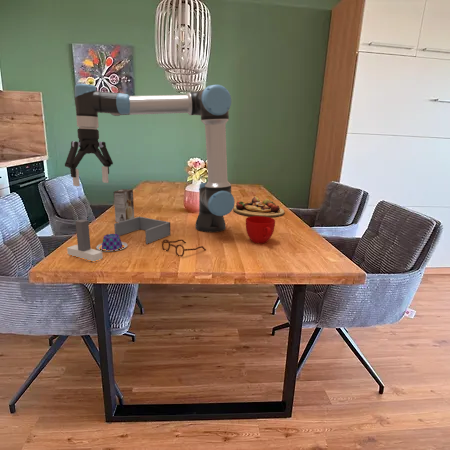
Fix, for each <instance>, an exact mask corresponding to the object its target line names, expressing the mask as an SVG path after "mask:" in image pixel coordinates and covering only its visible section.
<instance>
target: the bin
mask: <svg viewBox="0 0 450 450" xmlns="http://www.w3.org/2000/svg"><path fill="white" fill-rule="evenodd" d="M113 224H114V234H117V235H119V237H121V236H124V235H126V234H129V233H132V232H135V231H138V230H143V231H145V244H146V245H148V243H149V244H152V243H154V242H156V241H159V240H161V239H164V238H166V237H169V236H171V222H170V221H164V220H159V219H153V218H149V217H144V216H136V217H134V218H132V219H129V220H125V221H122V222H115V223H113ZM158 239H159V240H158ZM153 241H154V242H153Z"/></svg>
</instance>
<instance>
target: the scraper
mask: <svg viewBox="0 0 450 450" xmlns="http://www.w3.org/2000/svg"><path fill="white" fill-rule="evenodd" d="M75 231H76V240H77V244H73V245H71V246H69V247H66V252H67V255H68V254H69V255H68V256H70V255H72V256H71V257H73V256H76V257H80V258H84V259H87V260H91V261H96V260H99V259H102V258H103V257H104V255H103V251H101V250H98V249H93V248H92V247H91V239H90V225H89V220H87V219H78V220H75ZM76 257H75V258H76ZM80 258H79V259H80ZM103 259H104V258H103ZM103 259H102V260H103ZM87 260H86V261H87ZM99 261H100V260H99Z"/></svg>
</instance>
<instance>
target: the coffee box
mask: <svg viewBox="0 0 450 450" xmlns="http://www.w3.org/2000/svg"><path fill="white" fill-rule="evenodd" d="M113 203H114V204H113V205H114V216H115V217H114V219H115V223H118V222H122V221H125V220H129V219H132V218H135V206H134V204H135V201H134V189H127V188H126V189H125V188H121V189H118V190H115V191H113Z"/></svg>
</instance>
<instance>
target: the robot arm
mask: <svg viewBox="0 0 450 450" xmlns="http://www.w3.org/2000/svg"><path fill="white" fill-rule="evenodd" d="M74 104H75V112H76V113H75V114H76V127H77V138H78V141H75V140H74V141H73V140H72V141H71V142H70V149H69V151H68V154H67V157H66V160H65V163H64V167H66V168H69V170H70V178H72V186H74V187H80V174H79V168H77V167H79V164H80V162H81V161H82V159H83V158H84V156H85V155H87V154H89V155H90V154H94V155H95V157H97V159H98V160H99V162H100V163H101V164H102V165H103V166H101V175H102V176H101V177H102V183H104V184H105V183H106V184H108V183H109V175H110V168H111V167H112V166H113V165H114V162H113V160H112V157H111V156H110V153H109V151H108V149H107V143H106V142H105V141H99V139H100V130H99V129H98V128H99V126H100V125H99V114H98V113H101V114H110V115H112V116H114V117H120V116H129V115H130V116H132V115H138V116H139V115H163V114H188V115H189V116H200V121H201V122H202V123H203V124H204V128H205V129H204V130H205V147H206V148H205V149H206V150H205V152H206V166H207V167H206V168H207V182H200V184H199V187H198V191H199V195H198V197H199V198H198V203H199V204H198V216H197V217H196V221H195V227H194V228H195V230H197V231H200V232H204V233H205V232H206V233H218V232H222V231H225V230H226V220H225V218H224V216H227V215H229V214H230V213H231V212H232V210H233V208H234V206H235V203H236V202H235V199H234V195H233V194H232V184H231V183H230V182H229V181H228V161H227V159H228V158H227V157H228V156H227V135H226V134H227V133H226V131H227V130H226V127H227V126H226V125H227V122H228V121H229V120H230V117H229V115H230V114H229V112H230V111H229V110H230V108H231V106H232V95H231V93H230V92H229V90H228V89H227V88H226V87H225V86H224V85H222V84H211V85H210V84H209V85H207V86H206V87H205V88H203V89H200V90H198V91H189V92H187V93H186V94H164V95H163V94H160V95H159V94H158V95H157V94H156V95H153V94H152V95H130V94H127V93H123V92H109V91H108V92H106V91H98V90H97V86H96V85H94V84H87V83H77V84H75V86H74ZM78 148H79V149H78Z"/></svg>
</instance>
